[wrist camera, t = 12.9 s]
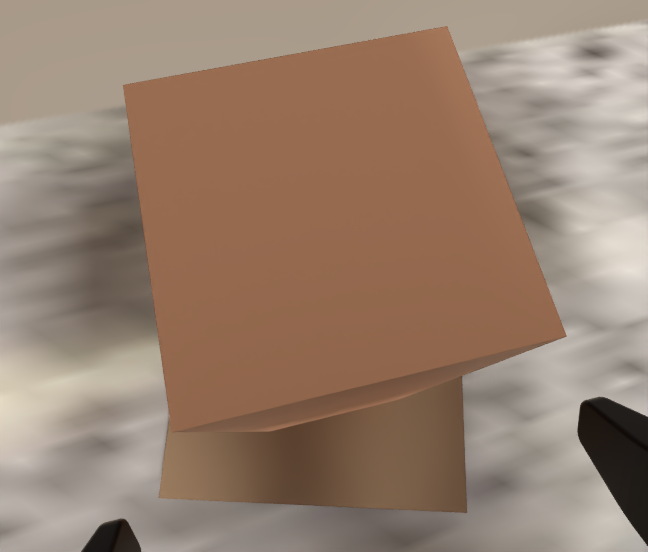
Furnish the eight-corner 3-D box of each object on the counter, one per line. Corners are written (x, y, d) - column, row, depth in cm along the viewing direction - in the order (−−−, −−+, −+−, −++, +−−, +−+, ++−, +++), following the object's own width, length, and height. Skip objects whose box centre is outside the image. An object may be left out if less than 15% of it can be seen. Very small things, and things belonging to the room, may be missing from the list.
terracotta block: (397, 399, 17) (566, 335, 6) (270, 431, 17) (171, 432, 5) (364, 278, 18) (446, 25, 7) (245, 305, 18) (122, 85, 7)
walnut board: (450, 235, 20) (456, 227, 19) (459, 509, 17) (467, 512, 16) (200, 223, 20) (196, 215, 19) (165, 495, 17) (158, 498, 16)
